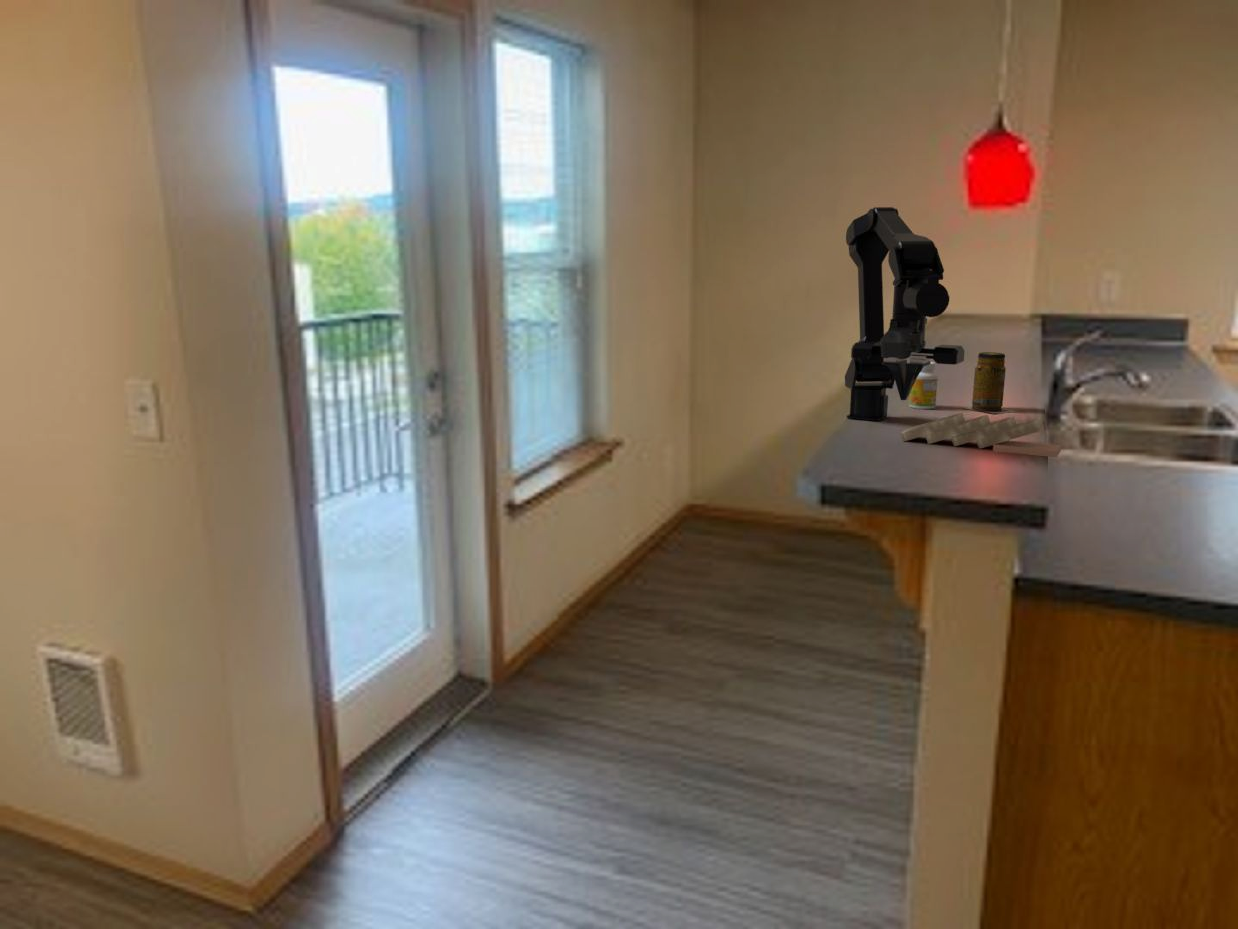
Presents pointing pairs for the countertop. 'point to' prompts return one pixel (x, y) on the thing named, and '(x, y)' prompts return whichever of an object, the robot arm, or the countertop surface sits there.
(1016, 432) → the domino
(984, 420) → the domino
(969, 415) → the countertop surface
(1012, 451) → the domino
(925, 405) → the supplement bottle
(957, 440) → the domino
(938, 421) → the domino
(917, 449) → the countertop surface
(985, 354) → the condiment
